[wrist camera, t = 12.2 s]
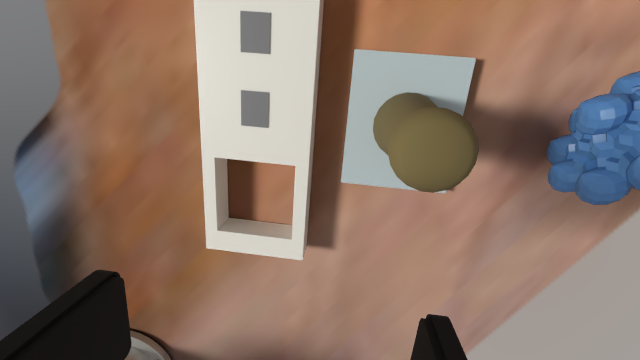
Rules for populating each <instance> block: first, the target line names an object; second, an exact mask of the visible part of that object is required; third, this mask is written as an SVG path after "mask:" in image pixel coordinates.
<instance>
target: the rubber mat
mask: <svg viewBox="0 0 640 360" xmlns="http://www.w3.org/2000/svg"><path fill="white" fill-rule="evenodd" d="M475 61H476V58H467V57H454V56H440V55H427V54H413V53H400V52H386V51H372V50H359V49H355V51H354V60H353V70H352V80H351V89H350V99H349V108H348V118H347V128H346V137H345V147H344V156H343V166H342V176H341V182H343V183H352V184H362V185H371V186H381V187H390V188H399V189H409V190H416V189H414V188H412V187H409V186H407V185H406V184H404V183H403V182H402V181H401V180H400V179H399V178H398V177H397V176H396V174H395V173H394V171H393V169H392V167H391V165H390V161H389V156H388V155H387V154H386V153H385V152H384V151H382V150H381V149H380V148H379V146H378V144H377V143H376V141H375V138H374V133H373V124H374V118H375V116H376V114H377V112H378V109H379V108H380V107H381V106H382V105H383V104H384V103H385V101H387V100H388V99H390V98H392V97H393V96H395V95H398V94H402V93H406V92H410V93H419V94H421V95H423V96H426V97H428V98H429V99H430V100H431V101H432V102H433V103H434V104H435V105H436V106H437V107H439V108H447V109H449V110H452V111H454V112H456V113H459V114H461V115H462V116H463V114H464V110H465V105H466V101H467V96H468V92H469V87H470V83H471V79H472V74H473V70H474V65H475ZM418 191H419V190H418ZM437 193H446V190H444V191H439V192H437Z"/></svg>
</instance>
